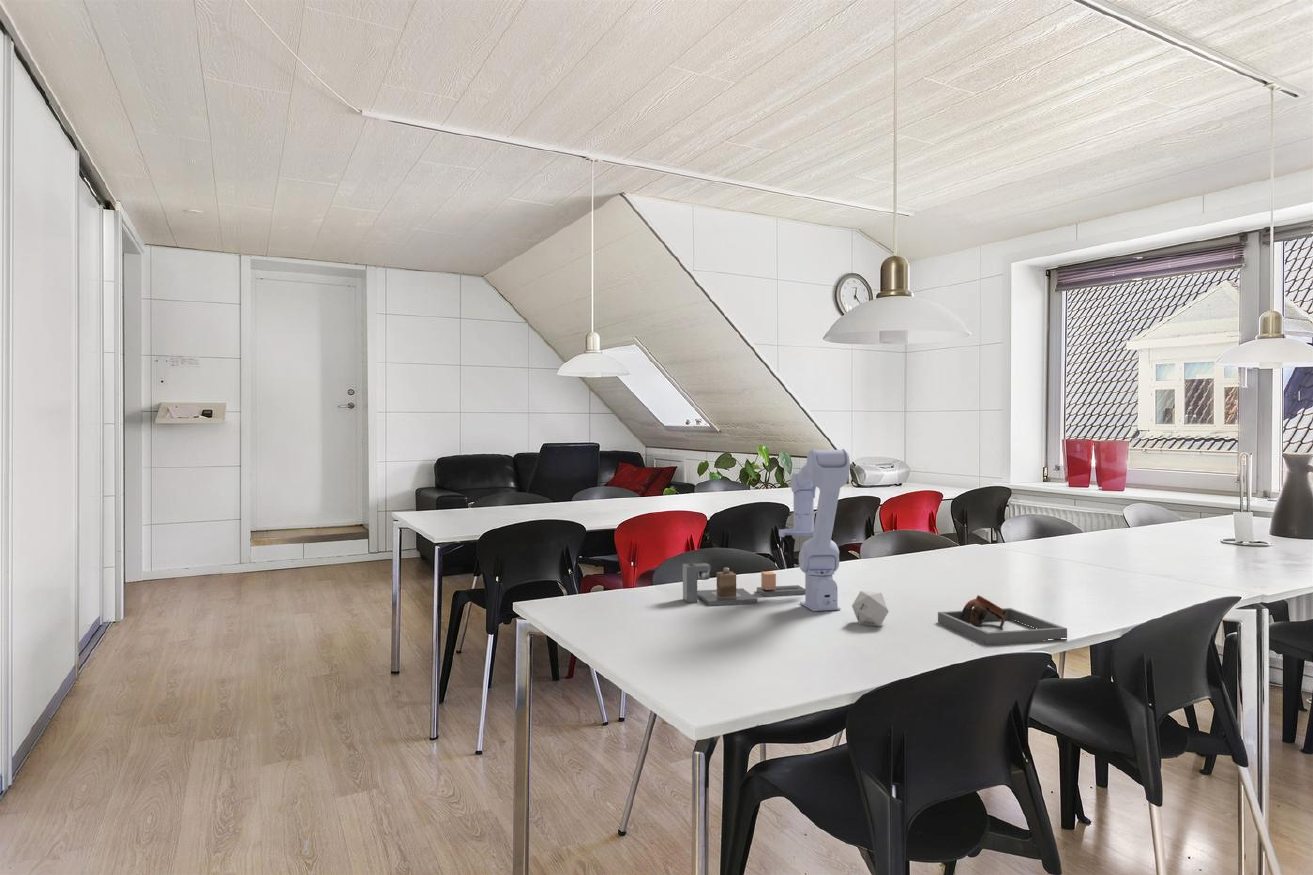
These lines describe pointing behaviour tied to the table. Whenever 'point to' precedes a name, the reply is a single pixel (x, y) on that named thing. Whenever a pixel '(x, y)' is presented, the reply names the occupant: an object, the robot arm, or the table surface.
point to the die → (870, 608)
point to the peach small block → (768, 580)
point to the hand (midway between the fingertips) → (803, 560)
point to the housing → (726, 583)
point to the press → (709, 595)
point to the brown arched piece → (981, 611)
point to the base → (782, 591)
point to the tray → (1003, 637)
